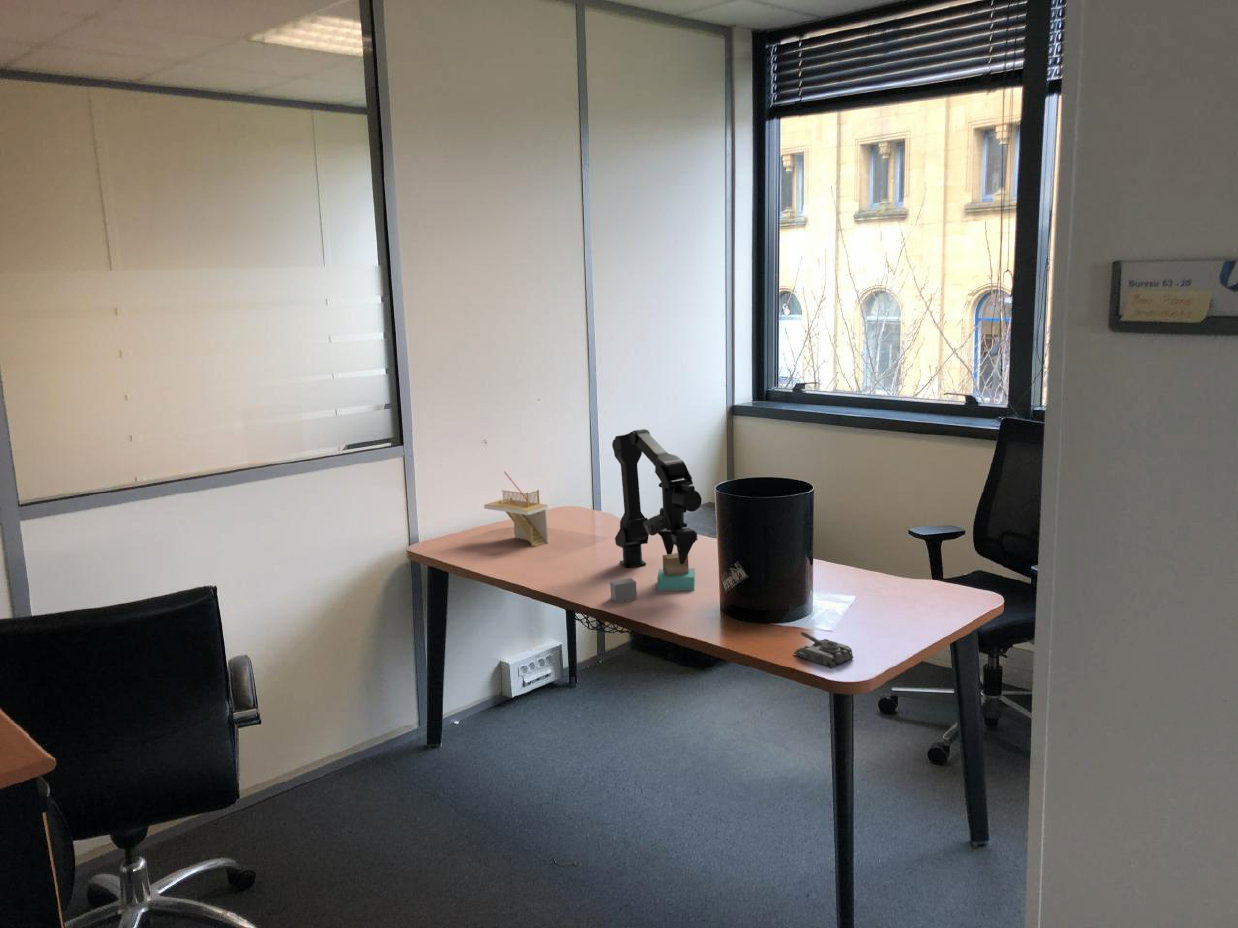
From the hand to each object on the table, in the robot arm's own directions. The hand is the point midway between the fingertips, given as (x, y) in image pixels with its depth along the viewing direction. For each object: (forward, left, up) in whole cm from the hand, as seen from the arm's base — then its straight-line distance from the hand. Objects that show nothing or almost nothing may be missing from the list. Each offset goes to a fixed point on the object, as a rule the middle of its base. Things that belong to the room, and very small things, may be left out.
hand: (675, 559), depth 268 cm
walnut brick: (0, 0, -4) cm, 4 cm away
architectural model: (-67, -27, -8) cm, 72 cm away
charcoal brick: (+4, -17, -8) cm, 19 cm away
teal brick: (0, 0, -8) cm, 8 cm away
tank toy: (+62, +10, -8) cm, 63 cm away
